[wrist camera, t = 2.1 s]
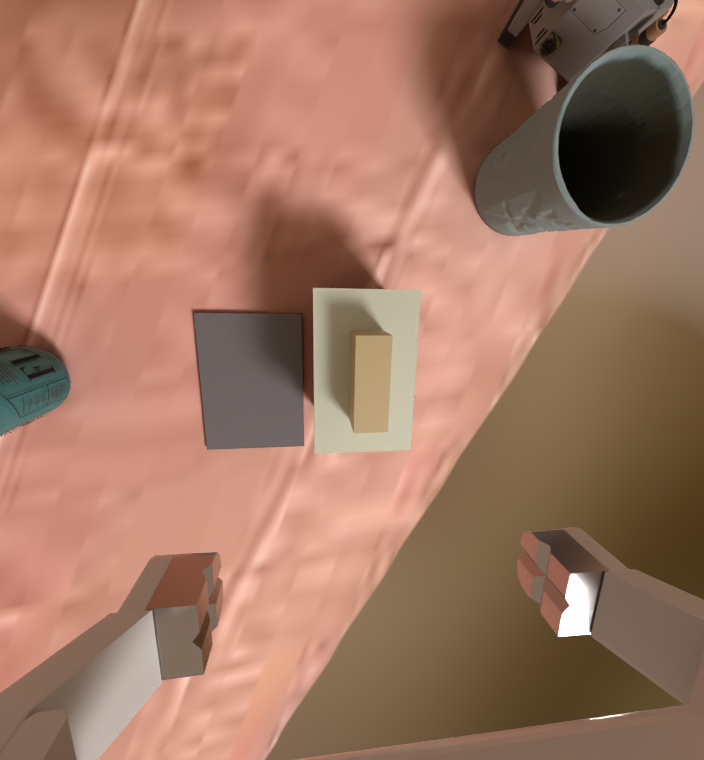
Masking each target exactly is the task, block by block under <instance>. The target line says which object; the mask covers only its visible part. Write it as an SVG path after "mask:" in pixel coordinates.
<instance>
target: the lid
mask: <svg viewBox="0 0 704 760" xmlns="http://www.w3.org/2000/svg"><path fill="white" fill-rule="evenodd" d="M420 302H421V290H400V289H349V288H313V366H314V452H315V454H320V453H345V452H370V451H395V450H410V448H411V434H412V419H413V404H414V390H415V375H416V360H417V346H418V331H419V316H420Z"/></svg>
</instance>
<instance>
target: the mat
mask: <svg viewBox="0 0 704 760" xmlns="http://www.w3.org/2000/svg"><path fill="white" fill-rule="evenodd" d="M194 321H195V331H196V341H197V351H198V362H199V372H200V382H201V393H202V403H203V413H204V424H205V434H206V444H207V450H208V449H236V448H263V447H290V446H304V418H303V363H302V314H276V313H194Z"/></svg>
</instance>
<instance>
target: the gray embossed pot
mask: <svg viewBox="0 0 704 760" xmlns="http://www.w3.org/2000/svg"><path fill="white" fill-rule="evenodd" d="M694 122H695V121H694V108H693V102H692V97H691V93H690V88H689V85H688V83H687V81H686V79H685V77H684V75H683V72H682V71H681V69H680V68H679V67H678V65H677V64H676V63H675V61H673V60H672V59H671V58H670V57H669V56H667V55H666V54H665V53H664V52H662V51H660V50H658V49H656V48H653V47H649V46H646V45H637V44H636V45H625V46H621V47H617V48H614V49H611V50H609V51H607V52H606V53H604V54H602V55H601V56H599V57H597V58H596V59H594V60H593V61H592V62H591V63H590V64H588V65H587V66H586V67H585V68H584V69H583V70H582V71H581V72H580V73H578V74H577V75H576V76H575V77H574V78H573V79H572V80H571V81H570V82H569V83H568V84H567V85H565V86H564V87H563V88H562V89H561V90H560V91H559V92H558V93H557V94H556V95H555V96H553V98H552V99H551V100H550V101H548V102H547V103H545V104H544V105H543V106H542V108H541V109H539V110H538V111H537V112H535V113H534V114H533V115H532V116H531V117H530V118H528V119H527V120H526V121H525V122H524V123H523V124H522V125H520V126H519V127H518V129H517V131H515V132H513V133H512V134H511V135H510V136H508V137H507V138H506V139H505V140H503V141H502V142H501V143H500V144H498V145H497V146H496V147H495V148H494V149H493V150H492V151H491V152H490V153H489V154H488V155H487V157H486V158H485V160H484V161H483V163H482V165H481V167H480V169H479V171H478V174H477V177H476V182H475V190H474V191H475V202H476V207H477V210H478V212H479V214H480V216H481V218H482V220H483V221H484V222H485V224H486V225H488V226H489V227H490V228H491V229H492V230H494V231H495V232H498V233H500V234H503V235H507V236H520V235H526V234H536V233H538V232H545V231H549V232H551V231H567V230H577V229H592V228H607V227H617V226H622V225H626V224H629V223H631V222H633V221H636V220H637V219H640V218H641V217H643V216H645V215H646V214H648V213H649V212H650V211H652V210H653V209H654V208H656V207H657V206H658V205H659V204H660V203H661V202H662V201H663V200H664V199H665V198H666V197H667V196H668V194H669V193H670V192H671V190H672V189H673V187H674V186H675V184H676V183H677V181H678V180H679V178H680V176H681V174H682V172H683V170H684V167H685V166H686V163H687V160H688V157H689V154H690V151H691V147H692V144H693V135H694V125H695V123H694Z"/></svg>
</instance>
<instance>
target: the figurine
mask: <svg viewBox="0 0 704 760" xmlns="http://www.w3.org/2000/svg"><path fill="white" fill-rule="evenodd" d="M673 3H674V7H673V9H672V11H671V13H670V15H669V16H668V18H667V19H666V20H665V19H663V17H665V16H666V15H667V13H668V12H669V10H670V8H671V6H672V4H673ZM677 3H678V0H520V2H519V3H518V5H517V7H516V9H515V10H514V12H513V14H512V16H511V18H510V19H509V21H508V23H507V25H506V27H505V28H504V30H503V32H502V34H501V35H500V37H499V39H498V41H499V42H500V43H501V44H503V45H504V46H505V47H506V48H507V49H509V48H510V47H511V46H512V44H513V43H514V42H515V40H516V39H517V37H518V35H519V34H520V32H521V30H522V29H523V28H524V27H525V25H526V24H527V23H528V21H529V27H530V32H531V38H532V44H533V49H534V51H535V52H536V53H537V54H538V55H539V56H541V57H542V58H543V59H544V60H545V61H546V62H547V63H548V64H549V65H550V66H551V67H552V68H554V69H555V70H556V71H557V72H558V73H559V74H560V75H561V76H562V77H563V78H564V79H565V80H567V81H568V82H570V81H571V80H572V79H573V78H574V77H575V76H576V75H577V74H578V73H580V72H581V71H582V70H583V69H584V68H585V67H586V66H587V65H588V64H590V63H591V62H592V61H593V60H594V59H596V58H597V57H599V56H601V55H602V54H604V53H606V52H607V51H609V50H611V49H614V48H617V47H621V46H625V45H636V44H637V45H646V46H649V45H650V44H651V43H653V42H654V41H655V40H656V39H657V38H658V37H659V36H660V35H662V34H663V33H664V32H665V31H666V28H667V23H666V22H667V21H668V20H669V19H670V18H671V16H672V15H673V13H674V11H675V9H676V7H677Z"/></svg>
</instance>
